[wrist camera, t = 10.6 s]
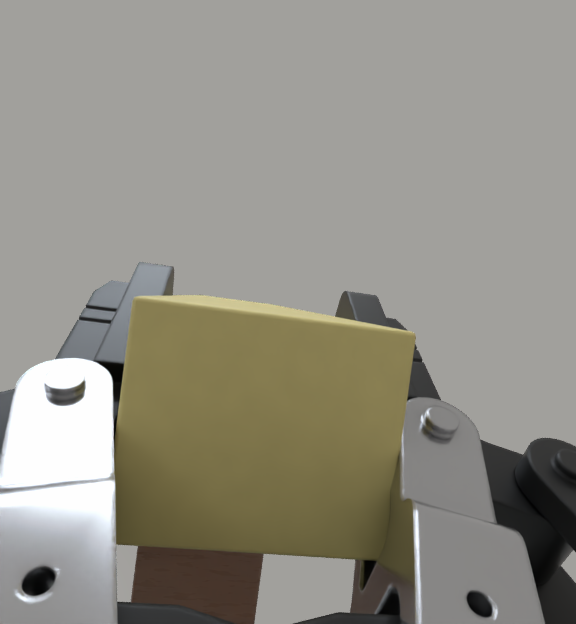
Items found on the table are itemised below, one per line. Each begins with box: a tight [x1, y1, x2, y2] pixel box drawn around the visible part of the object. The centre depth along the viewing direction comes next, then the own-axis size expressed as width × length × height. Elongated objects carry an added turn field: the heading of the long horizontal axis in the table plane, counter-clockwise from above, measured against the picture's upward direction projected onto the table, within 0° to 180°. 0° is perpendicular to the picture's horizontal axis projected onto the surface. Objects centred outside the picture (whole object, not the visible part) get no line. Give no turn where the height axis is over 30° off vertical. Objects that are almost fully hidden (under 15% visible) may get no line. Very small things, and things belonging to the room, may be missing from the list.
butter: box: [114, 295, 416, 561], centre depth 16 cm, size 19×4×3 cm, turn 8°
